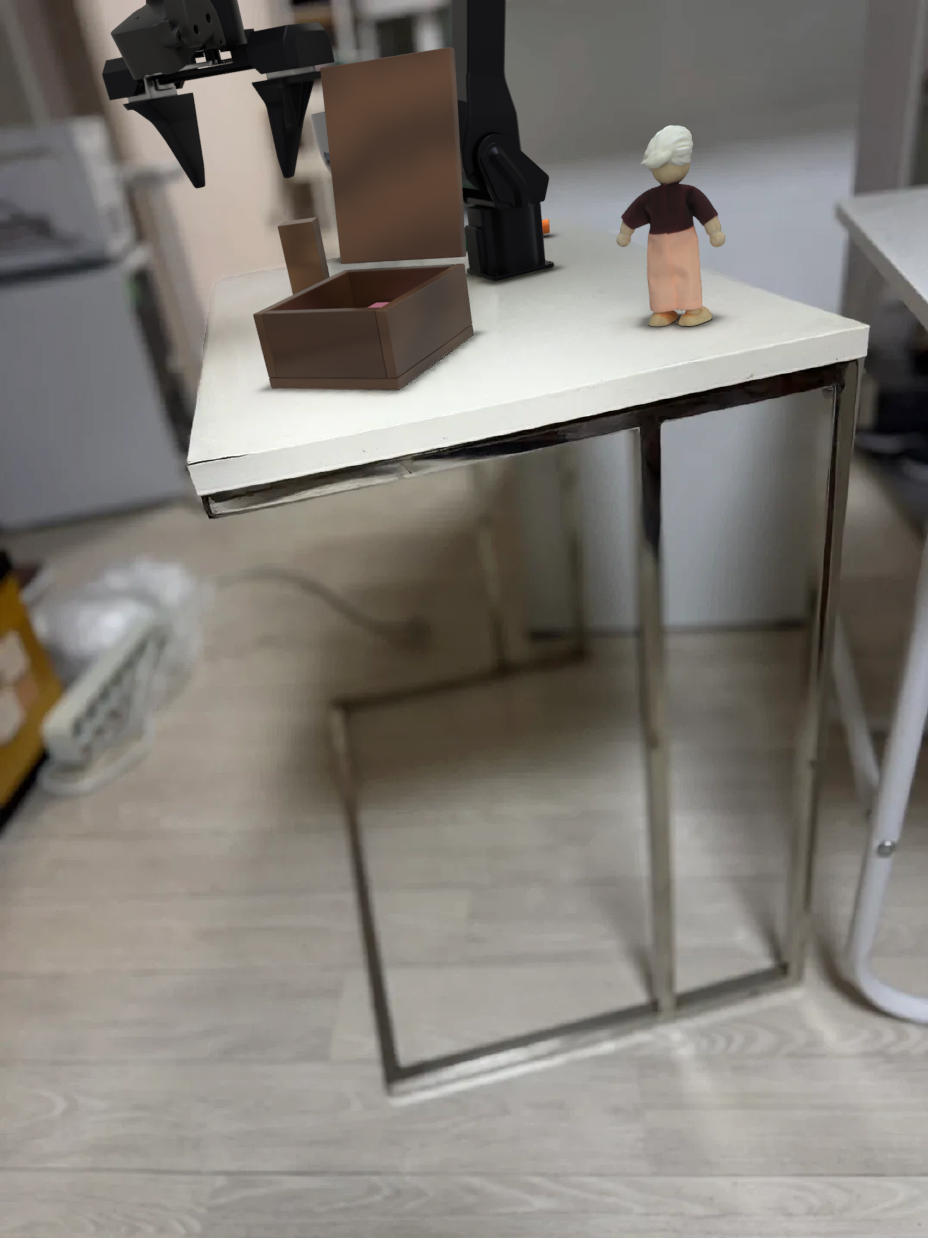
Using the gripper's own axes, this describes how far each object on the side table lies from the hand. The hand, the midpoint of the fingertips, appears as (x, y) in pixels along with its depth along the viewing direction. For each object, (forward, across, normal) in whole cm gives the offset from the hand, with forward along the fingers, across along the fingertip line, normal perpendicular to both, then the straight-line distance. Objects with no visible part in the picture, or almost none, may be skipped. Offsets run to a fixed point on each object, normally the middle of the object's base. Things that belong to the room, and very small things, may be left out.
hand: (243, 182), depth 77 cm
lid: (-1, +16, -3) cm, 16 cm away
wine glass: (+12, -6, +29) cm, 32 cm away
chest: (+12, +16, -10) cm, 22 cm away
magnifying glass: (+12, +7, +31) cm, 34 cm away
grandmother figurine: (+12, +36, -2) cm, 38 cm away
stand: (+12, -3, +10) cm, 16 cm away
